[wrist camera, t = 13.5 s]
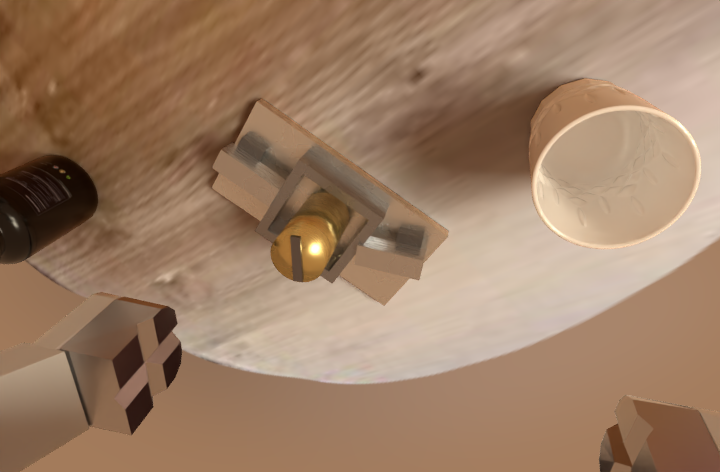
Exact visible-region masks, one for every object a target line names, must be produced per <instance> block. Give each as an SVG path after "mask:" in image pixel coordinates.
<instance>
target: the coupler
mask: <svg viewBox="0 0 720 472" xmlns="http://www.w3.org/2000/svg"><path fill="white" fill-rule="evenodd" d="M348 223H349V212H348V209H347V207H346V205H345V204H344V203H343V202H342V201H340V200H339V199H338V198H336V197H335V196H333V195H332V194H330V193H324V192H321V193H316V194H313V195H311V196H310V197H309V198H308V199H307V200H306V201H305V202H304V204H303V205H302V206H301V207H300V209H299V210H298V211H297V213H296V214H295V215H294V216H293V218H292V219H291V220H290V222H289V223H288V224H287V225H286V227H285V228H284V229H283V231H282V232H281V233H280V234H279V236H278V237H277V238H276V240H275V241H274V242H273V244H272V247H271V259H272V262H273V264H274V266H275V267H276V269H277V270H278V271H279V272H280V273H281V274H282V275H284V276H285V277H287V278H289V279H291V280H293V281H297V282H309V281H312V280H315V279H316V278H318V277H319V276H320V275H321V274H322V272H323V270H324V268H325V267H326V265H327V263H328V261H329V259H330V257H331V256H332V254H333V252H334V250H335V248H336V246H337V244H338V243H339V241H340V239H341V237H342V235H343V233H344V231H345V230H346V228H347V226H348Z"/></svg>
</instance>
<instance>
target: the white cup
mask: <svg viewBox="0 0 720 472" xmlns="http://www.w3.org/2000/svg"><path fill="white" fill-rule="evenodd" d="M529 165H530V176H531V189H532V198H533V202H534V205H535V208H536V210H537V212H538V214H539V216H540V218H541V219H542V221H543V222H544V223H545V224H546V226H547V227H548V228H549V229H550V230H551V231H553V232H554V233H555V234H556V235H558V236H559V237H561V238H563V239H565V240H566V241H569V242H571V243H573V244H576V245H579V246H583V247H588V248H595V249H615V248H622V247H627V246H631V245H635V244H638V243H641V242H643V241H646V240H648V239H650V238H652V237H654V236H656V235H658V234H659V233H661V232H662V231H664V230H665V229H667V228H668V227H669V226H671V225H672V224H673V223H674V222H675V221H676V220H677V219H678V218H679V217H680V216H681V215H682V214H683V213H684V211H685V210H686V209H687V207H688V206H689V204H690V203H691V201H692V199H693V197H694V195H695V193H696V191H697V188H698V185H699V181H700V175H701V160H700V154H699V151H698V148H697V145H696V143H695V141H694V139H693V137H692V136H691V134H690V133H689V132H688V130H687V129H686V128H685V127H684V126H683V125H682V124H681V123H680V122H678V121H677V120H676V119H674V118H673V117H671V116H670V115H668V114H666V113H665V112H663V111H661V110H660V109H658V108H657V107H655V106H654V105H652V104H650V103H649V102H648V101H646V100H644V99H643V98H641V97H639V96H637V95H635V94H633V93H631V92H630V91H628V90H626V89H623V88H620V87H617V86H616V85H614V84H613V83H611V82H609V81H602V80H595V79H588V78H584V79H581V80H577V81H574V82H571V83H567V84H564V85H561V86H559V87H558V88H557V89H556V90H554V91H553V92H552V93H551V94H550V95H548V96H547V97H546V98H545V99H543V100H542V101H541V103H540V105H539V107H538V109H537V110H536V112H535V114H534V116H533V118H532V120H531V125H530V140H529Z"/></svg>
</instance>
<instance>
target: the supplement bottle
mask: <svg viewBox="0 0 720 472" xmlns="http://www.w3.org/2000/svg"><path fill="white" fill-rule="evenodd" d="M97 205H98V195H97V191H96V188H95V185H94V183H93V181H92V179H91V178H90V176H89V175H88V174H87V173H86V172H85V171H84V170H83V169H82V168H81V167H80V166H79V165H78V164H76V163H75V162H73V161H71V160H69V159H67V158H64V157H61V156H56V155H49V156H44V157H41V158H38V159H36V160H33V161H31V162H29V163H26V164H24V165H22V166H19V167H17V168H15V169H12V170H10V171H8V172H5V173H3V174H1V175H0V264H15V263H19V262H22V261H24V260H25V259H27V258H29V257H31V256H32V255H34V254H35V253H37V252H39V251H40V250H42V249H43V248H45V247H46V246H48V245H49V244H51V243H53V242H54V241H56V240H57V239H59V238H60V237H62V236H64V235H65V234H67V233H68V232H70V231H71V230H73V229H75V228H76V227H78V226H79V225H81V224H82V223H84V222H85V221H87V220H88V219H89V218H91V217H92V216H93V214H94V213H95V211H96V208H97Z"/></svg>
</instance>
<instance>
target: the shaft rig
mask: <svg viewBox="0 0 720 472" xmlns="http://www.w3.org/2000/svg"><path fill="white" fill-rule="evenodd" d="M212 168H213V169H214V170H216V171H217V172H219V175H218V177H217V178H216V180H215V182H214V184H213V186H212V189H214V190H215V191H217V192H218V193H220V194H221V195H222V196H224V197H225V198H227V199H228V200H230V201H231V202H233V203H234V204H236V205H237V206H239V207H240V208H242V209H243V210H244V211H246V212H247V213H249V214H250V215H252V216H253V217H255V218H256V219H258V220H259V221H260V223H259V225H258V226H257V228H256V229H255V232H257V233H258V234H260V235H261V236H263V237H264V238H266V239H267V240H269V241H270V242H272V243H273V242H274V241H275V240H276V238H277V237H278V236H279V234H280V233H281V232H282V231H283V229H284V228H285V227H286V225H287V224H288V223H289V222H290V220H291V219H292V218H293V216H294V215H295V214H296V213H297V211H298V210H299V209H300V207H301V206H302V205H303V204H304V202H305V201H306V200H307V199H308V198H309V197H310V196H311V195H313V194H316V193H321V192H324V193H330V194H332V195H333V196H335V197H336V198H338V199H339V200H340V201H342V202H343V203H344V204H345V205H346V207H347V209H348V212H349V223H348V226H347V228H346V230H345V231H344V233H343V235H342V237H341V239H340V241H339V243H338V244H337V246H336V248H335V250H334V252H333V254H332V256H331V257H330V259H329V261H328V263H327V265H326V267H325V268H324V270H323V272H322V274H321V275H320V276H322V277H323V278H325V279H326V280H328V281H329V282H331V283H333V282H334V281H335V279H336V278H337V277H338V276H339V275H340V276H341V277H343V278H344V279H346V280H347V281H349V282H350V283H352V284H353V285H355V286H356V287H358V288H359V289H360V290H362V291H363V292H365V293H366V294H368V295H369V296H371V297H372V298H374V299H375V300H377V301H378V302H380V303H381V304H382V305H385V304H386V303H387V302H388V301H389V300H390V299H391V298H392V297H393V296H394V295H395V294H396V292H397V291H398V290H399V289H400V288H401V287H402V286H403V285H404V284H405V283H406V282H407V280H408V279H409V278H412V279H416V280H419V279H420V275H421V271H422V267H423V263H424V262H425V261H426V260H427V259H428V258H429V257H430V256H431V254H432V253H433V252H434V251H435V250H436V249H437V248H438V247H439V246H440V245H441V244H442V243H443V241H444V240H445V239H446V238H447V237H448V232H449V231H448V230H447V229H445V228H444V227H442V226H441V225H440V224H438V223H437V222H435V221H434V220H432V219H431V218H430V217H428V216H427V215H425V214H424V213H423V212H421V211H420V210H418V209H417V208H416V207H414V206H413V205H411V204H410V203H409V202H407V201H406V200H404V199H403V198H402V197H400V196H399V195H397V194H396V193H395V192H393V191H392V190H390V189H389V188H388V187H386V186H385V185H383V184H382V183H380V182H379V181H378V180H376V179H375V178H373V177H372V176H371V175H369V174H368V173H366V172H365V171H364V170H362V169H361V168H359V167H358V166H357V165H355V164H354V163H352V162H351V161H350V160H348V159H347V158H345V157H344V156H343V155H341V154H340V153H338V152H337V151H336V150H334V149H333V148H331V147H330V146H328V145H327V144H326V143H324V142H323V141H321V140H320V139H319V138H317V137H316V136H314V135H313V134H312V133H310V132H309V131H307V130H306V129H305V128H303V127H302V126H300V125H299V124H298V123H296V122H295V121H293V120H292V119H291V118H289V117H288V116H286V115H285V114H284V113H282V112H281V111H279V110H278V109H276V108H275V107H274V106H272V105H271V104H269V103H268V102H267V101H265V100H264V99H262V98H261V99H260V100H258V101H257V102H256V104H255V106H254V107H253V109H252V111H251V113H250V115H249V117H248V119H247V121H246V123H245V125H244V127H243V129H242V131H241V132H240V134H239V136H238V138H237V140H236V142H235V144H234V143H232V142H231V143H230V144H228V145H227V146H226V147H224V148H223V149H221V151H220V153H219V155H218V157H217V159H216V160H215V162H214V164H213V166H212Z"/></svg>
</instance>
